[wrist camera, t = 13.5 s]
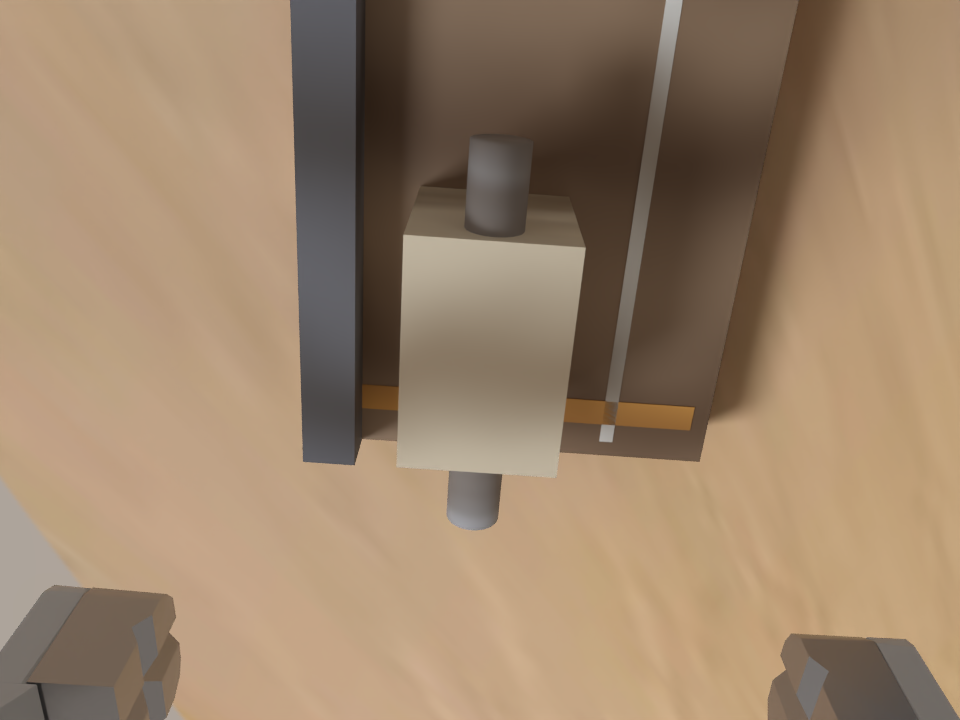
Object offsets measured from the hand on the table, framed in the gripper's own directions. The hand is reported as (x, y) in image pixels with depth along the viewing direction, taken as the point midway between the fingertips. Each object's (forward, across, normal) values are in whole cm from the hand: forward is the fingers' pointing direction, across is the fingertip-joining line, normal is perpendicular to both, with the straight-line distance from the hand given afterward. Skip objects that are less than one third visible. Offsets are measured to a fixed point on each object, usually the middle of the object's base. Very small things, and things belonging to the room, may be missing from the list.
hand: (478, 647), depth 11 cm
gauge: (+14, 0, 0) cm, 14 cm away
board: (+16, -1, -5) cm, 16 cm away
